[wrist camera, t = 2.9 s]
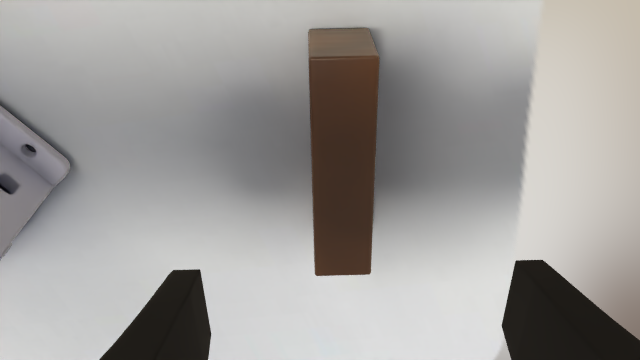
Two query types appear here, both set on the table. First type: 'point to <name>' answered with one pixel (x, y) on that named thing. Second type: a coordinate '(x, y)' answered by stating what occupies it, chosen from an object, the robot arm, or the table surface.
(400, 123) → the table surface
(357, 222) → the wooden block
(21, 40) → the table surface
